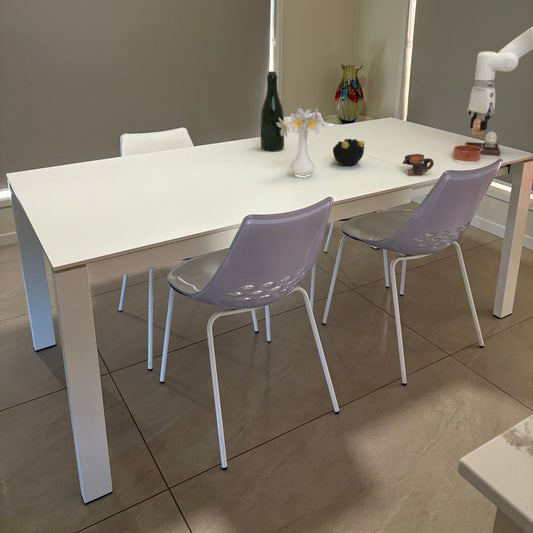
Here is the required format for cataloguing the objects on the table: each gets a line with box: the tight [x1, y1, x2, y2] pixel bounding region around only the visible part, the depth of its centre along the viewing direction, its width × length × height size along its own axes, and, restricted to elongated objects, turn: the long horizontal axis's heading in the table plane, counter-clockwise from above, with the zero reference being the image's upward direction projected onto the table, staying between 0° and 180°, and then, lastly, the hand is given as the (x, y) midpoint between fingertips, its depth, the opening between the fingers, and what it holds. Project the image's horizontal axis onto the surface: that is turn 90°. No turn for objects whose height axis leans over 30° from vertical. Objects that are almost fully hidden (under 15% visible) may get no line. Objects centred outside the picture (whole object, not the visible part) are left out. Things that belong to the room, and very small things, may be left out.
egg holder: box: [464, 141, 501, 157], centre depth 253 cm, size 14×14×2 cm
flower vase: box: [276, 107, 326, 179], centre depth 218 cm, size 13×18×25 cm
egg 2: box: [484, 131, 498, 147], centre depth 254 cm, size 5×5×8 cm
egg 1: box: [471, 116, 485, 137], centre depth 246 cm, size 5×5×8 cm
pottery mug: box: [402, 153, 435, 176], centre depth 226 cm, size 12×10×8 cm
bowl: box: [452, 144, 482, 162], centre depth 242 cm, size 11×11×4 cm
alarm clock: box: [332, 138, 366, 166], centre depth 236 cm, size 12×15×15 cm
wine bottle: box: [260, 70, 285, 152], centre depth 255 cm, size 10×10×33 cm
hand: (478, 128), depth 247 cm, fingers closed on egg 1, 4 cm apart
